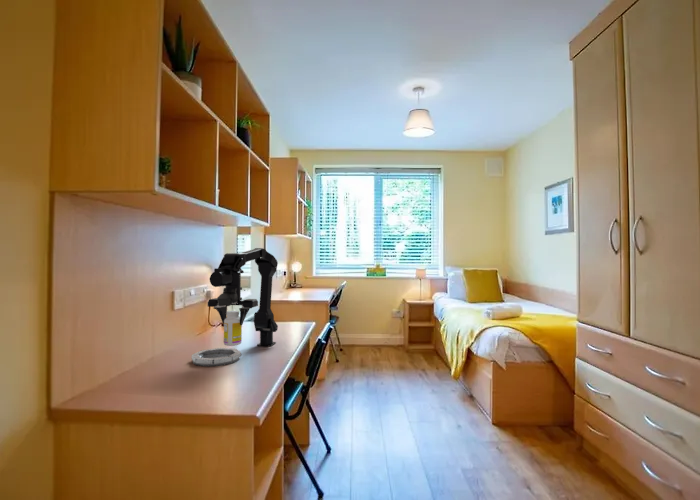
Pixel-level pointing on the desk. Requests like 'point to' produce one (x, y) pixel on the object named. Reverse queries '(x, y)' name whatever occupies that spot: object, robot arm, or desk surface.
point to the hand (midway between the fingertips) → (232, 324)
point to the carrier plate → (216, 357)
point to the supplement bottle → (232, 329)
